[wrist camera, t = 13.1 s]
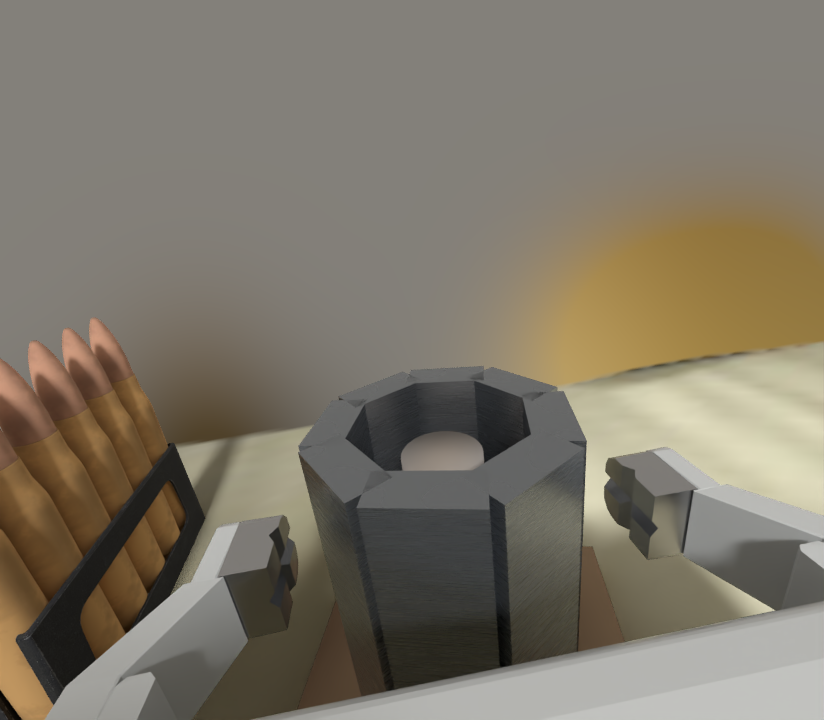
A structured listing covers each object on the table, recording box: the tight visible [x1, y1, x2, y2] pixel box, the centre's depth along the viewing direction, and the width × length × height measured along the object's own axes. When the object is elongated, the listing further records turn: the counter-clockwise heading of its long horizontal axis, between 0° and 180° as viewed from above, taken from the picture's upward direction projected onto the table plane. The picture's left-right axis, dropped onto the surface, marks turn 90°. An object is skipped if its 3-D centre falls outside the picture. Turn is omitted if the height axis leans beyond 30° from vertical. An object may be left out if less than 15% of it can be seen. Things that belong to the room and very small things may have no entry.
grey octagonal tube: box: [298, 366, 587, 697], centre depth 11 cm, size 6×6×9 cm
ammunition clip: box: [0, 318, 205, 720], centre depth 15 cm, size 11×2×12 cm, turn 10°
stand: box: [297, 431, 624, 710], centre depth 11 cm, size 10×10×9 cm
